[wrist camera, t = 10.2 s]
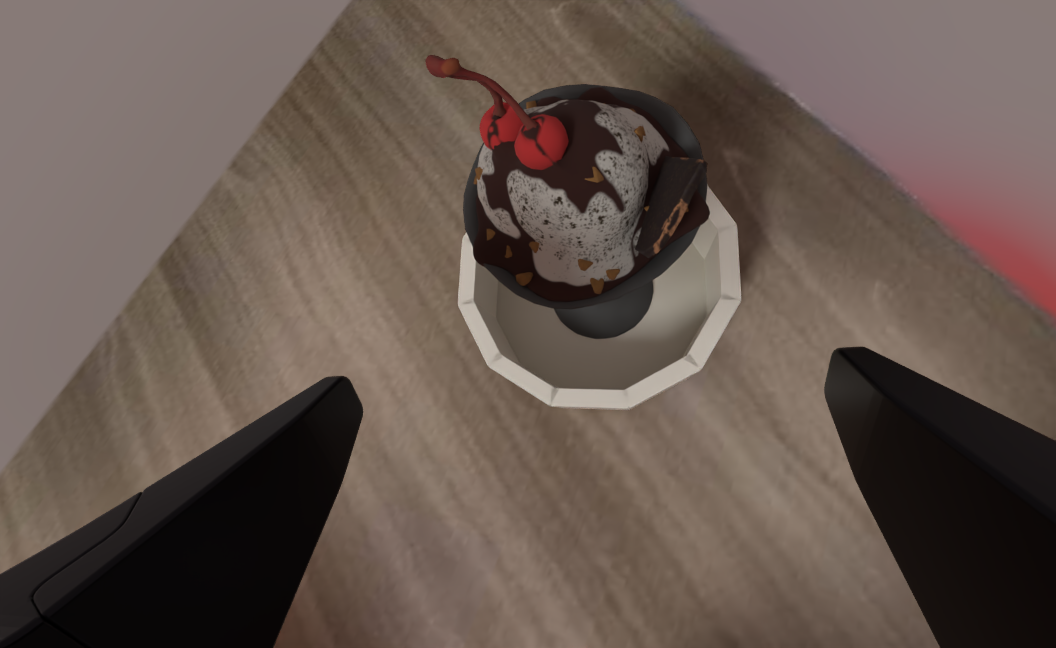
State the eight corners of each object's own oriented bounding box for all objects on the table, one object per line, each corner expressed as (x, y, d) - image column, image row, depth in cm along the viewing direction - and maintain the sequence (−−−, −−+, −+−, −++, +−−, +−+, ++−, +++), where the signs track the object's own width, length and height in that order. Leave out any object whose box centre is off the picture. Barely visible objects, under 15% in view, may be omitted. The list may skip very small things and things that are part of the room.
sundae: (510, 268, 23) (318, 26, 9) (626, 201, 23) (621, -175, 8) (570, 382, 21) (450, 309, 7) (699, 313, 21) (854, 80, 6)
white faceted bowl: (714, 178, 22) (731, 129, 19) (725, 413, 20) (747, 412, 16) (493, 194, 25) (468, 153, 21) (481, 405, 23) (451, 402, 19)
